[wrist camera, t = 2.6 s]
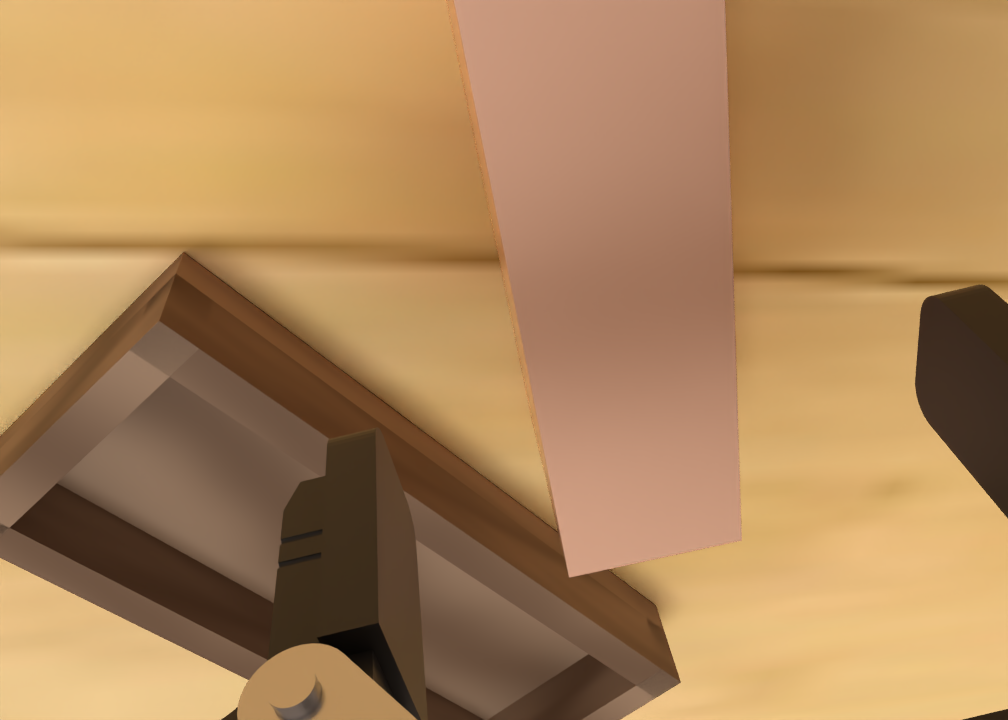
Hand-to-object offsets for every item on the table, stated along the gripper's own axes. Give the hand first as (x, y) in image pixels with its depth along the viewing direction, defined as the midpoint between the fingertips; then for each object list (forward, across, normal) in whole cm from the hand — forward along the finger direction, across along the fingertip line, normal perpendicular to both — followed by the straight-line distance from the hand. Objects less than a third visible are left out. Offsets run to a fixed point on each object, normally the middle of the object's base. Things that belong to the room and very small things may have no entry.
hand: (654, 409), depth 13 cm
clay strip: (+10, 0, 0) cm, 10 cm away
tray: (+10, +7, +10) cm, 16 cm away
